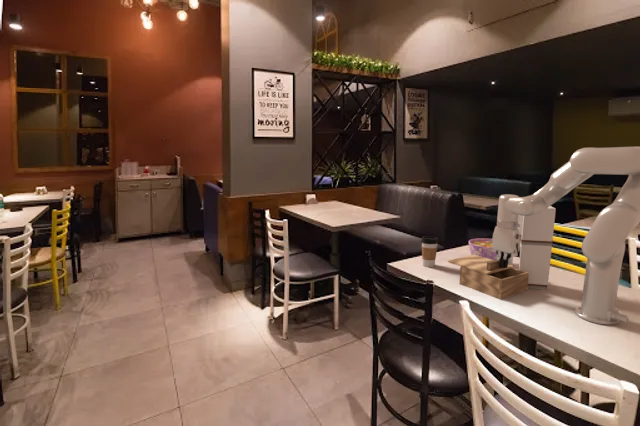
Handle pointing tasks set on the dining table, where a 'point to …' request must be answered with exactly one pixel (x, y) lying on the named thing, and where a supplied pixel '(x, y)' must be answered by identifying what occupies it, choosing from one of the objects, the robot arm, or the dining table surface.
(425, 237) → the coffee cup
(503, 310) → the dining table surface
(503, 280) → the wooden box
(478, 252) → the bowl of food
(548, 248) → the tall white box
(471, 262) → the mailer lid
